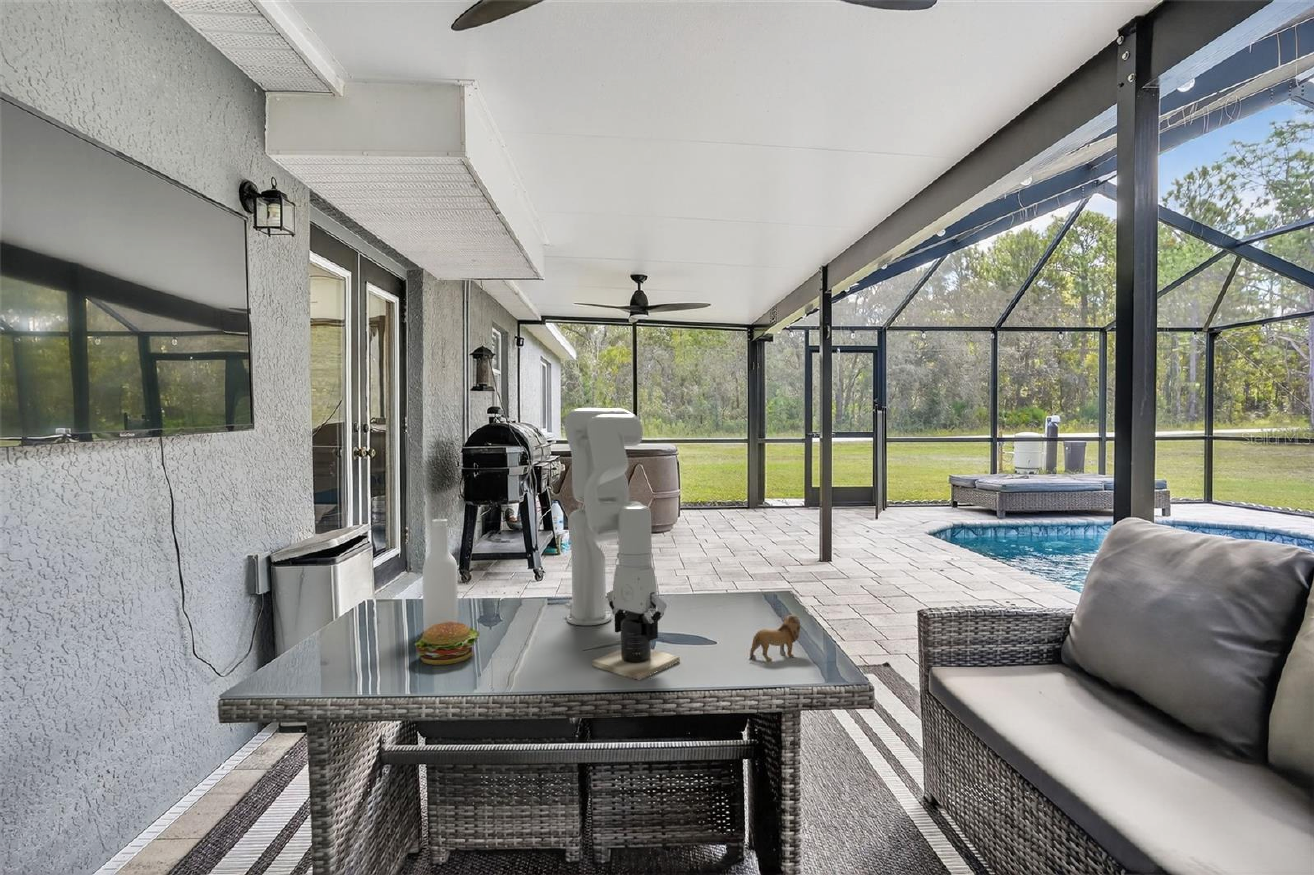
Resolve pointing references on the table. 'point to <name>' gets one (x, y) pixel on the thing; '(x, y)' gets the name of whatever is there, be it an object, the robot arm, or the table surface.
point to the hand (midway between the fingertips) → (635, 635)
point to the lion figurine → (777, 637)
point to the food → (446, 643)
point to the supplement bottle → (634, 638)
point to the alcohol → (439, 580)
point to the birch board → (635, 664)
